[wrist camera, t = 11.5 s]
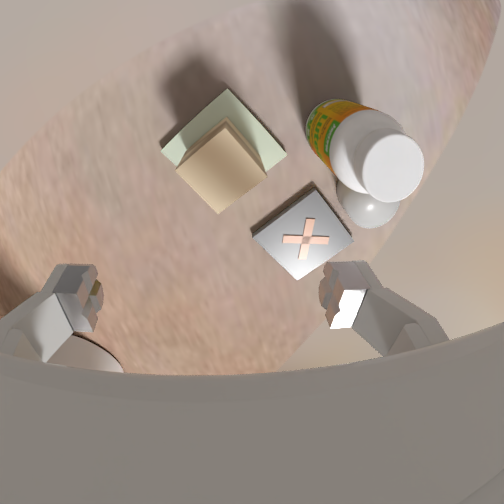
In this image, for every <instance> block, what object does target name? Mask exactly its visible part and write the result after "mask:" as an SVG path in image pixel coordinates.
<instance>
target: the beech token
mask: <svg viewBox="0 0 504 504" xmlns="http://www.w3.org/2000/svg"><path fill="white" fill-rule="evenodd" d="M175 171H176V172H177V173H178V174H179V175H180V176H181V177H182V178H183V179H184V180H185V181H186V182H187V184H188V185H189V186H190V187H191V188H192V189H193V190H194V191H195V192H196V193H197V194H198V195H199V196H200V197H201V198H202V199H203V200H204V201H205V202H206V203H207V204H208V205H209V206H210V207H211V208H212V209H213V210H214V211H215V212H216V213H217V214H219V213H220V212H222V211H223V210H224V209H226V208H227V207H228V206H229V205H231V204H232V203H233V202H235V201H236V200H237V199H239V198H240V197H241V196H243V195H244V194H245V193H247V192H248V191H249V190H251V189H252V188H253V187H255V186H256V185H257V184H259V183H260V182H261V181H263V180H264V179H265V178H267V174H266V171H265V168H264V165H263V163H262V160H261V157H260V155H259V154H258V152H257V151H256V150H255V149H254V148H253V146H252V145H251V144H250V143H249V142H248V141H247V139H246V138H245V137H244V136H243V135H242V134H241V132H240V131H239V130H238V129H237V128H236V127H235V126H234V124H233V123H232V122H231V121H230V120H229V119H228V118H227V117H225V118H224V119H223V120H222V121H220V122H219V123H218V124H217V125H215V126H214V127H213V128H212V129H211V130H209V131H208V132H207V133H206V134H205V135H203V136H202V137H201V138H200V139H199V140H197V141H196V142H195V143H194V144H193V145H192V146H191V147H189V148H188V149H187V150H186V152H185V153H184V155H183V157H182V159H181V161H180V162H179V164H178V166H177V168H176V170H175Z"/></svg>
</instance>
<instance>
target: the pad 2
mask: <svg viewBox="0 0 504 504" xmlns="http://www.w3.org/2000/svg"><path fill="white" fill-rule="evenodd" d="M252 237H253V239H254V240H255V241H257V242H258V243H259V244H260V245H261V246H262V247H263V248H264V249H265V250H266V251H267V252H268V253H269V254H270V255H271V256H272V257H273V258H274V259H275V260H276V261H277V262H279V263H280V264H281V265H282V266H283V267H284V268H285V269H286V270H287V271H288V272H289V273H290V274H291V275H292V276H293V277H294V278H295V279H296V280H299V279H300V278H302V277H303V276H305V275H306V274H308V273H309V272H311V271H312V270H314V269H315V268H317V267H318V266H319V265H321V264H322V263H324V262H325V261H327V260H328V259H330V258H331V257H333V256H334V255H335V254H337V253H338V252H340V251H341V250H343V249H344V248H345V247H347V246H348V245H350V244H351V243H352V242H354V240H353V239H352V237H351V236H350V234H349V233H348V232H347V230H346V229H345V227H344V226H343V225H342V223H341V222H340V221H339V219H338V218H337V216H336V215H335V214H334V212H333V211H332V210H331V208H330V207H329V206H328V205H327V203H326V202H325V201H324V199H323V198H322V197H321V195H320V194H319V193H318V192H317V190H316V189H315V188H312V189H311V190H310V191H308V192H307V193H306V194H304V195H303V196H302V197H300V198H299V199H298V200H297V201H295V202H294V203H293V204H291V205H290V206H289V207H287V208H286V209H285V210H283V211H282V212H281V213H279V214H278V215H277V216H275V217H274V218H273V219H271V220H270V221H269V222H267V223H266V224H265V225H264V226H262V227H261V228H260V229H258V230H257V231H256V232H254V233H253V234H252Z"/></svg>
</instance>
